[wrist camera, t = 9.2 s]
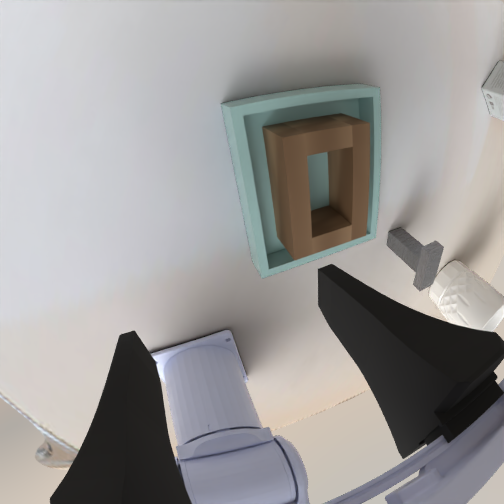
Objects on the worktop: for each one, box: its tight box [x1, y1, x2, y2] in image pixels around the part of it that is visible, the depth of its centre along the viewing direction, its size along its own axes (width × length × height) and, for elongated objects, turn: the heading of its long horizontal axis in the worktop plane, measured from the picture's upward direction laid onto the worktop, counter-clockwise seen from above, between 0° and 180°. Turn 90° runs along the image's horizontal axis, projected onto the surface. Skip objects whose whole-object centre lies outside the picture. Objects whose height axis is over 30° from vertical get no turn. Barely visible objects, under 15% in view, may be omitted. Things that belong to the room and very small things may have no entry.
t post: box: [387, 227, 444, 291], centre depth 25 cm, size 4×2×6 cm, turn 9°
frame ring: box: [262, 113, 370, 261], centre depth 19 cm, size 6×8×3 cm
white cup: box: [429, 260, 504, 332], centre depth 32 cm, size 8×8×10 cm
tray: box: [221, 84, 381, 279], centre depth 19 cm, size 12×10×2 cm
